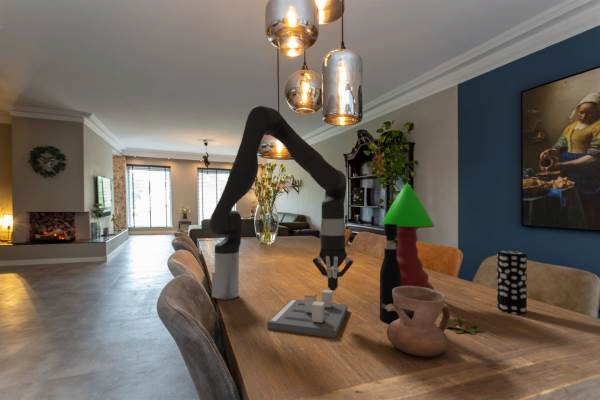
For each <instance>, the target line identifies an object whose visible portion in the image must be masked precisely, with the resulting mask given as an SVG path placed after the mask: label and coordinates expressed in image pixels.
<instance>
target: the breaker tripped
mask: <svg viewBox="0 0 600 400" xmlns="http://www.w3.org/2000/svg"><path fill="white" fill-rule="evenodd" d="M317 296H318V295H317V293H316V292H315V293H314V292H306V293H305V294H304V300H305V312H309V313H312V304H313V303H314V301H317Z"/></svg>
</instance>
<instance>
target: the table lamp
mask: <svg viewBox="0 0 600 400" xmlns="http://www.w3.org/2000/svg"><path fill="white" fill-rule="evenodd" d="M392 202H393V203H392V204H391V206H390V207H389V209H388V210H387V212H386V214H385V216H384V218H383V220H382V221H381V224H380V225H381V226H383V227H384V224H397V235H396V240H397V244H396V249H397V260H398V263H399V266H400V270H401V286H415V287H423V288H429V289H432V290H435V288H434V287H433V285H432V284H431V283H430V281H429V275H428V273H427V272H426V271H425V270H424V269H423V262H422V260H421V259H420V257H419V249H418V246H417V241H418V235H417V231H418V229H423V228H425V229H427V228H434V227H435V224H434V223H433V221H432V219H431V217H430V214H428V211H427V210H426V209H425V207H424V205H423V203H422V201H421V200H420V198H419V197H418V195H417V193H416V192H415V191H414V190H413V188H412V186H411V185H410V184H409V183H408V182H406V183H405V184H404V185H403V187H402V189H401V190H400V192H399V193H398V194H397V196H396V197H395V199H394V200H393V201H392Z"/></svg>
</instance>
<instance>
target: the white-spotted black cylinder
mask: <svg viewBox="0 0 600 400" xmlns="http://www.w3.org/2000/svg"><path fill="white" fill-rule="evenodd" d="M496 252H497V253H496V261H497V262H496V265H497V266H496V273H497V274H496V292H497V293H496V303H497V304H496V306H497V307H496V309H497V308H498V309H499V310H498V309H497V310H498V311H500V312H503V313H506V314H510V313H511V314H510V315H516V314H519V315H518V316H520V315H521V316H523V315H522V314H524V315H526V314H527V312H528V311H527V307H528V306H527V303H528V302H527V301H528V300H527V299H528V298H527V297H528V296H527V295H528V294H527V293H528V292H527V290H528V289H527V287H528V285H527V284H528V283H527V282H528V281H527V278H528V277H527V276H528V274H527V272H528V271H527V268H528V267H527V253H526V252H524V251H517V250H505V249H504V250H497V251H496Z"/></svg>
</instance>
